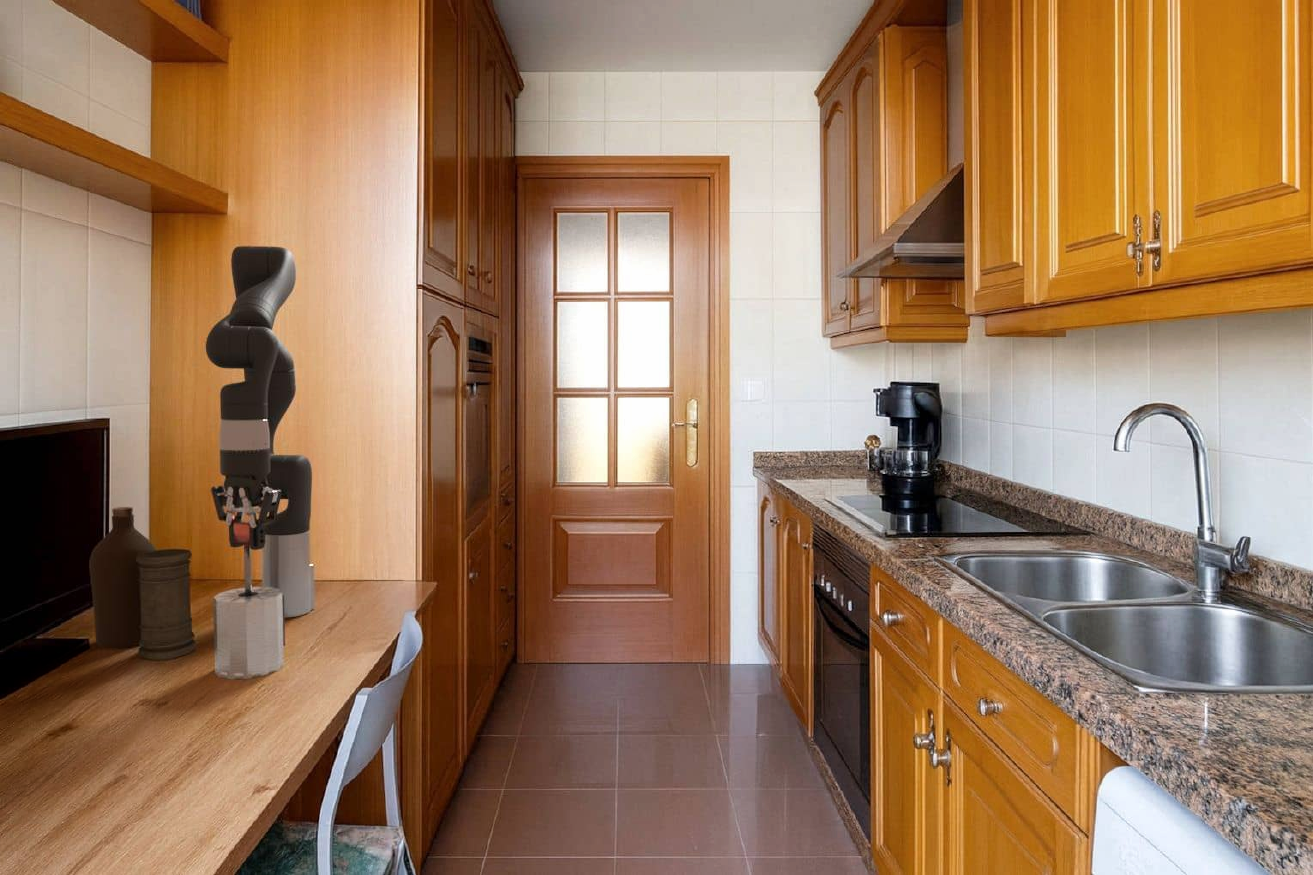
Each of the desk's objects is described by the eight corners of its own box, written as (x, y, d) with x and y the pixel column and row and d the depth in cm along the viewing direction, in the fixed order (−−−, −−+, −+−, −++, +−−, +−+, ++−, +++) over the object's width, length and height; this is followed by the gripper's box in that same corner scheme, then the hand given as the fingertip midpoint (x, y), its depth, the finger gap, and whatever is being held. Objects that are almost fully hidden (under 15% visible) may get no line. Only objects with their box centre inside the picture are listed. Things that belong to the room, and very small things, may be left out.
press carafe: (260, 652, 146) (258, 582, 146) (303, 660, 143) (302, 588, 142) (201, 673, 136) (199, 598, 135) (246, 683, 132) (245, 605, 131)
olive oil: (87, 653, 144) (82, 514, 142) (97, 636, 154) (93, 505, 152) (156, 646, 149) (152, 510, 147) (163, 629, 158) (159, 502, 157)
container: (169, 662, 141) (166, 560, 139) (125, 658, 142) (121, 556, 141) (207, 646, 149) (205, 549, 148) (165, 642, 151) (163, 546, 150)
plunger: (250, 613, 142) (248, 517, 141) (281, 618, 140) (280, 520, 139) (214, 624, 136) (212, 524, 135) (246, 630, 133) (244, 527, 132)
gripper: (295, 446, 136) (296, 547, 138) (233, 443, 142) (235, 540, 143) (258, 450, 130) (260, 556, 131) (194, 446, 135) (197, 548, 136)
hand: (247, 547), depth 137 cm, fingers closed on plunger, 4 cm apart
